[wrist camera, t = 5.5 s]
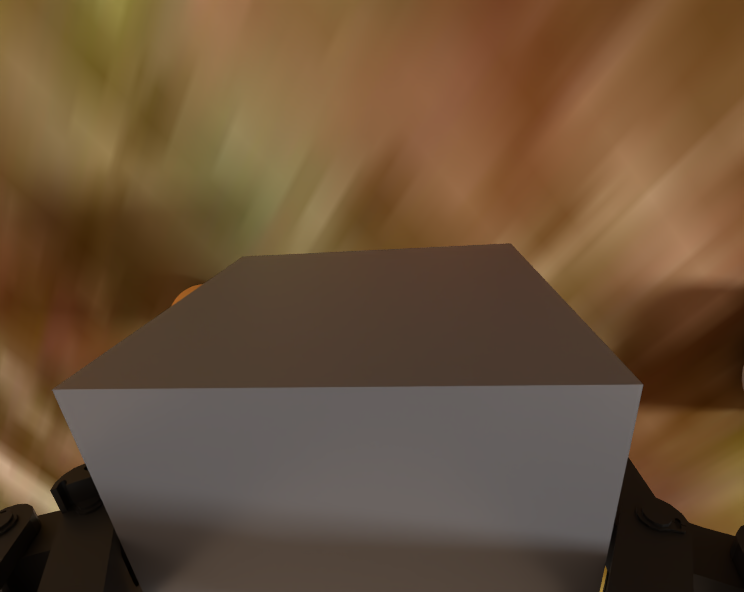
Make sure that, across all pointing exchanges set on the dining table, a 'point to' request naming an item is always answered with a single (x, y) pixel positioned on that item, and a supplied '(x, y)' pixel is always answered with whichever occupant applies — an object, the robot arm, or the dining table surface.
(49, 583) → the robot arm
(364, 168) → the dining table surface
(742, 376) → the teacup
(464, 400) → the grey block
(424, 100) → the dining table surface
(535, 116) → the dining table surface
